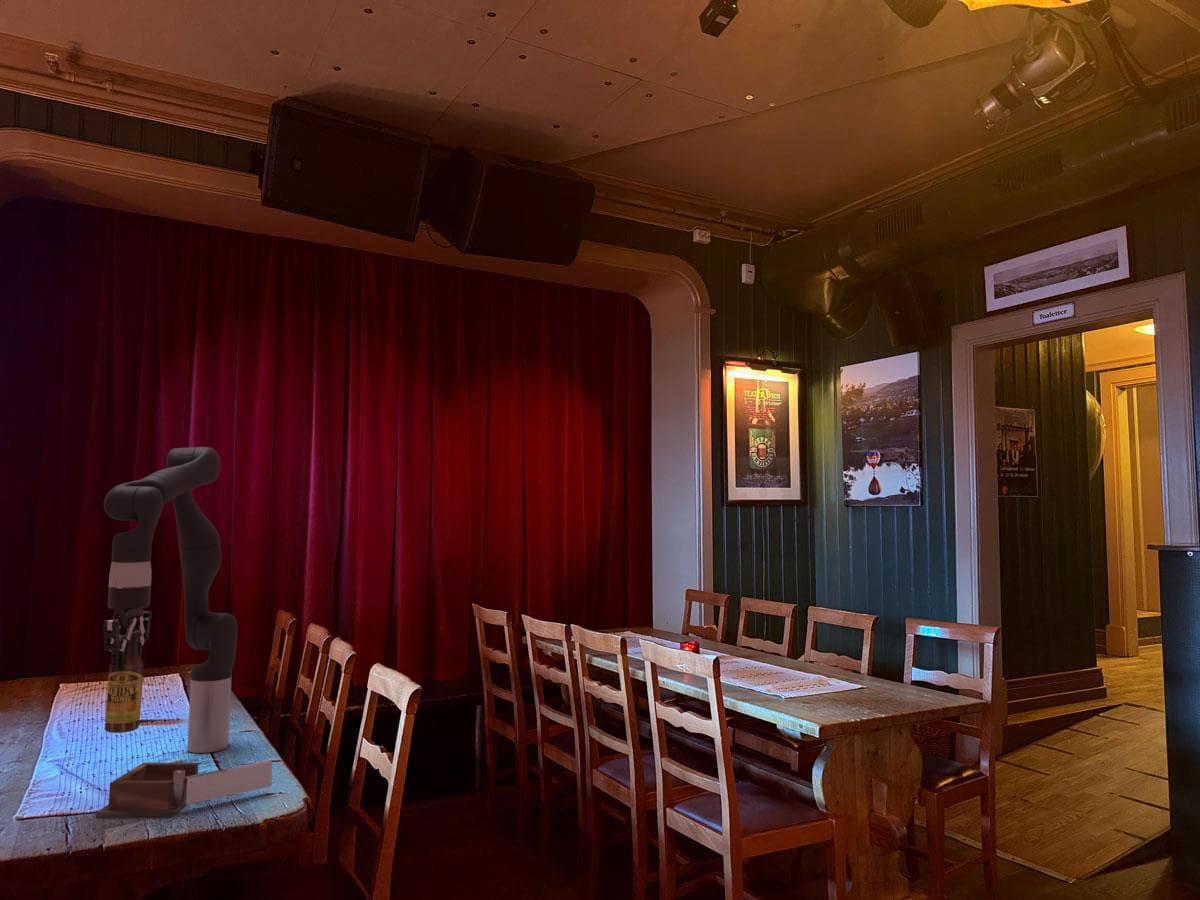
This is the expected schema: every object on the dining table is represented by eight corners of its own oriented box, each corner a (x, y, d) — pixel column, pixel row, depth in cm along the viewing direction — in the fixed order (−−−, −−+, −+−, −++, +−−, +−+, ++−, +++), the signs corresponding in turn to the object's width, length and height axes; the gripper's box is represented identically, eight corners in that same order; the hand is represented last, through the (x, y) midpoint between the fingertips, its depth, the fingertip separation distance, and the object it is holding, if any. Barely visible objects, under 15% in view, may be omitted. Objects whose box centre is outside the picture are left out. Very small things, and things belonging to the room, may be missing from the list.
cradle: (138, 789, 173) (139, 760, 174) (205, 789, 174) (207, 760, 175) (95, 817, 158) (97, 785, 158) (170, 817, 158) (172, 785, 159)
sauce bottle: (99, 735, 162) (105, 633, 163) (109, 727, 168) (114, 628, 169) (136, 733, 164) (141, 632, 165) (144, 725, 170) (148, 627, 171)
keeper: (173, 807, 159) (175, 773, 160) (170, 805, 161) (172, 771, 161) (271, 786, 172) (273, 754, 173) (267, 784, 174) (269, 752, 174)
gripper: (130, 580, 175) (126, 660, 174) (90, 587, 160) (86, 674, 159) (166, 580, 175) (162, 660, 174) (129, 587, 161) (125, 674, 160)
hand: (126, 666), depth 167 cm, fingers closed on sauce bottle, 6 cm apart
